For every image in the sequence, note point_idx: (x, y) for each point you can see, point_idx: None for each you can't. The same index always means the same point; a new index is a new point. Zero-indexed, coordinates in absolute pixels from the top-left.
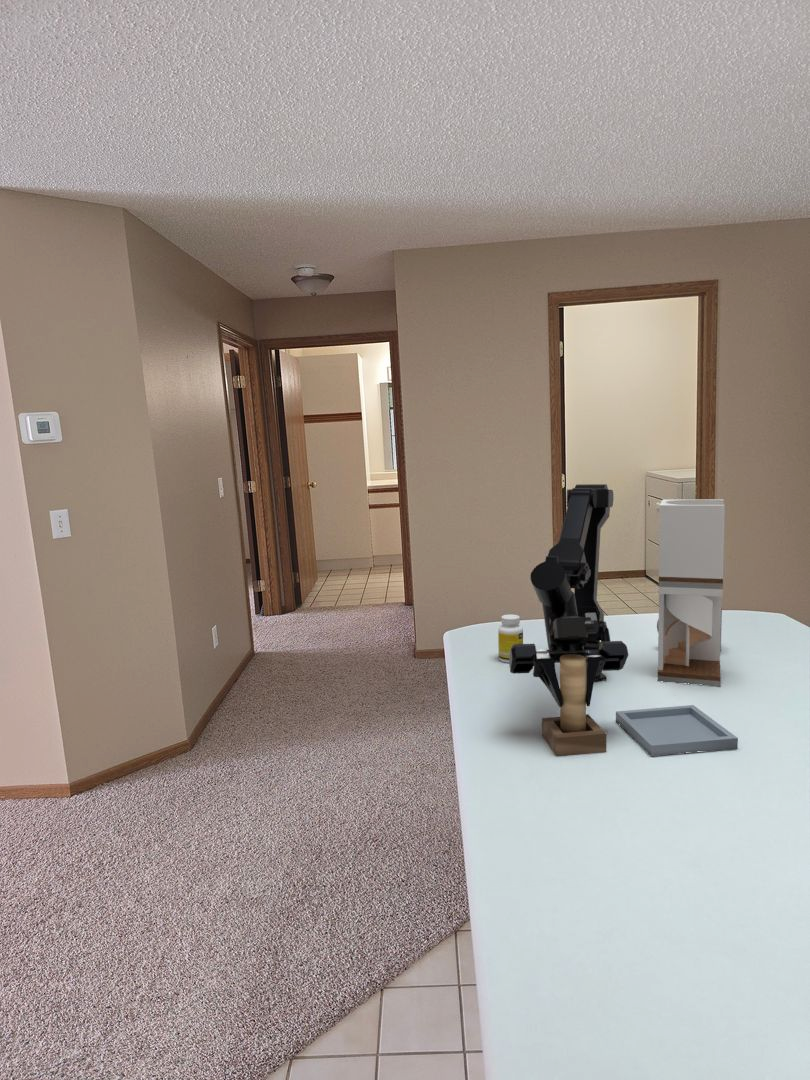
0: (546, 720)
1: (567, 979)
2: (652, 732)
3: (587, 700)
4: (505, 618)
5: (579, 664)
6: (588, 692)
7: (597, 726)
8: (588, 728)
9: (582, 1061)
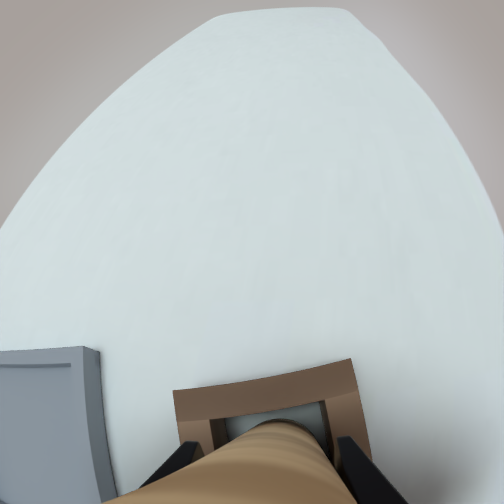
0: None
1: (318, 21)
2: (63, 456)
3: (193, 450)
4: None
5: (126, 502)
6: None
7: None
8: None
9: (310, 8)
